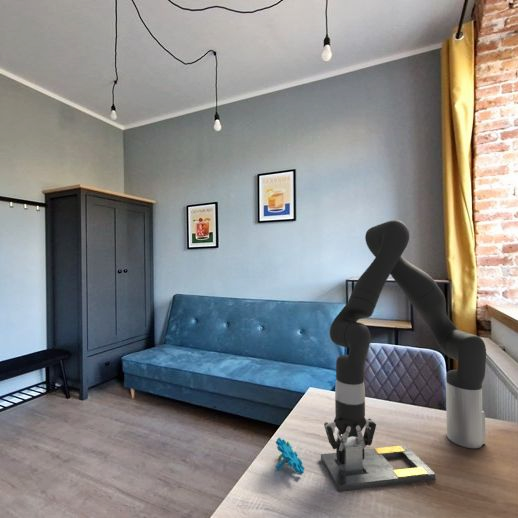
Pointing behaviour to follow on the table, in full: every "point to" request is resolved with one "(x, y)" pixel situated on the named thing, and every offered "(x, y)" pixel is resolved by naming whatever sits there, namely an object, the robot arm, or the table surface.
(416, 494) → the table surface
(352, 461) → the steel block
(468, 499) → the table surface
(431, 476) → the fixture plate
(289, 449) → the gear
